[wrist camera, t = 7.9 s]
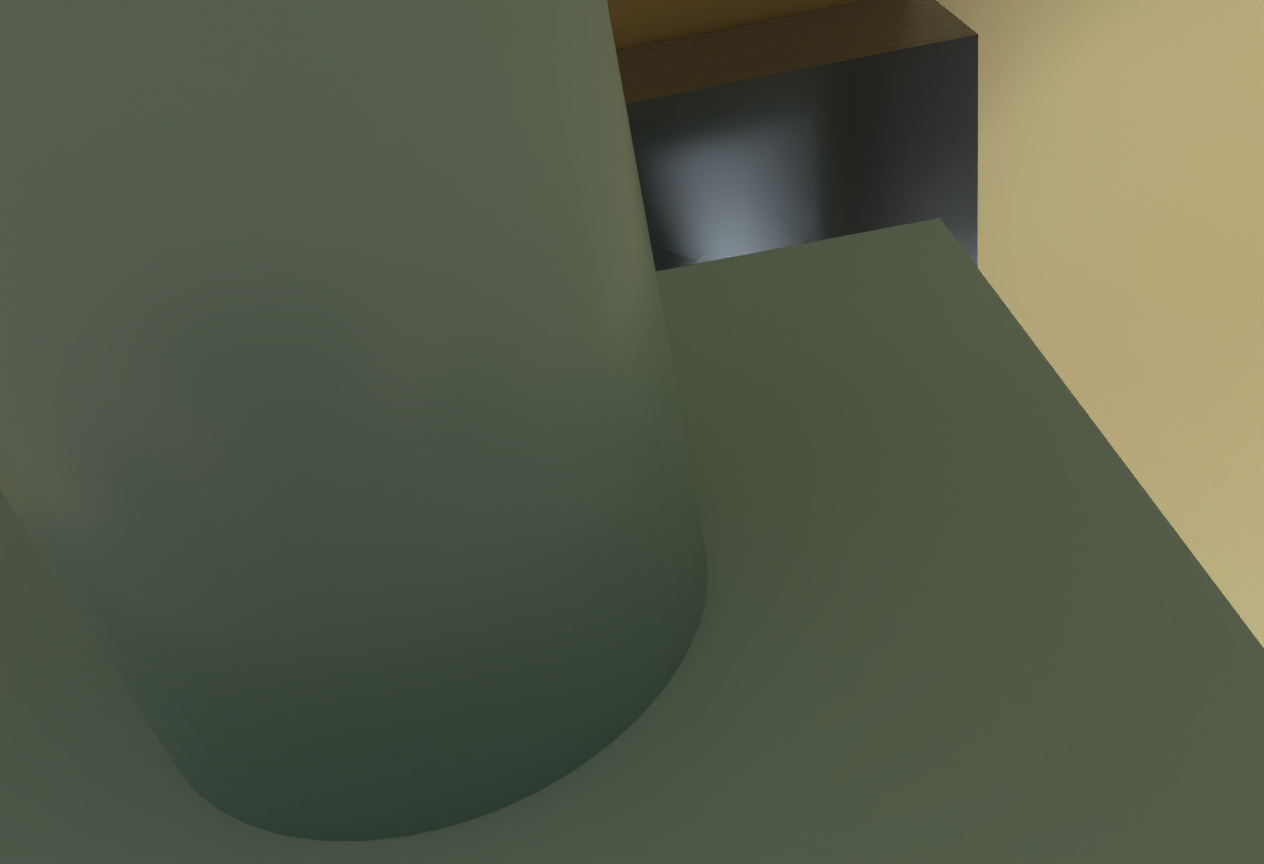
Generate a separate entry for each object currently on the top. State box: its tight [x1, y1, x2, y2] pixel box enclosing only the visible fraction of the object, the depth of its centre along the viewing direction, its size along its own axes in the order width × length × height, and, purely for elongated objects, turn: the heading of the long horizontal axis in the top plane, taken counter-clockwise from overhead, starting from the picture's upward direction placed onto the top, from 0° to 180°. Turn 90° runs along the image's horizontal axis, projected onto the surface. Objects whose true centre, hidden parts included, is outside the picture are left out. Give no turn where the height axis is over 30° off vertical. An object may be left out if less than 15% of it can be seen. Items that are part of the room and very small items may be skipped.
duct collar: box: [0, 0, 1264, 864], centre depth 6 cm, size 7×10×6 cm
